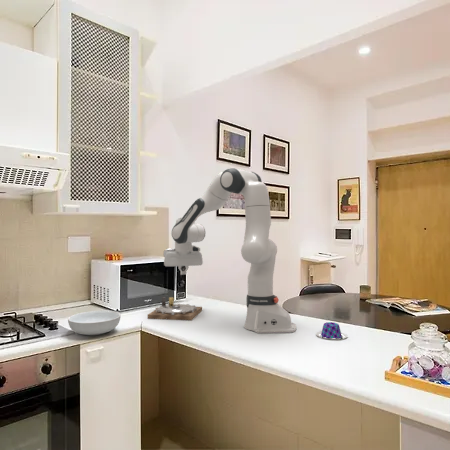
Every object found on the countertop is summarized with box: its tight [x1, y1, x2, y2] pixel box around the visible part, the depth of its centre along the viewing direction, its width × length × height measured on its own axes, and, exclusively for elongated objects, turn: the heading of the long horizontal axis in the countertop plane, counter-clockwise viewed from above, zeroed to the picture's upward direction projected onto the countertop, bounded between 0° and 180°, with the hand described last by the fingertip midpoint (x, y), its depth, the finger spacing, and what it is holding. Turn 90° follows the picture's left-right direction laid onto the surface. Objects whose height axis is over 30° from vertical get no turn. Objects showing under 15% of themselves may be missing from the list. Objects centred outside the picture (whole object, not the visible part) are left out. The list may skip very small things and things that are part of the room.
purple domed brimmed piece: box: [315, 321, 348, 341], centre depth 147 cm, size 12×12×5 cm
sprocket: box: [155, 296, 198, 315], centre depth 187 cm, size 21×21×5 cm
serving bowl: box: [67, 310, 121, 336], centre depth 154 cm, size 21×21×7 cm
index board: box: [147, 296, 203, 321], centre depth 187 cm, size 22×22×7 cm
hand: (183, 274), depth 195 cm, fingers closed
